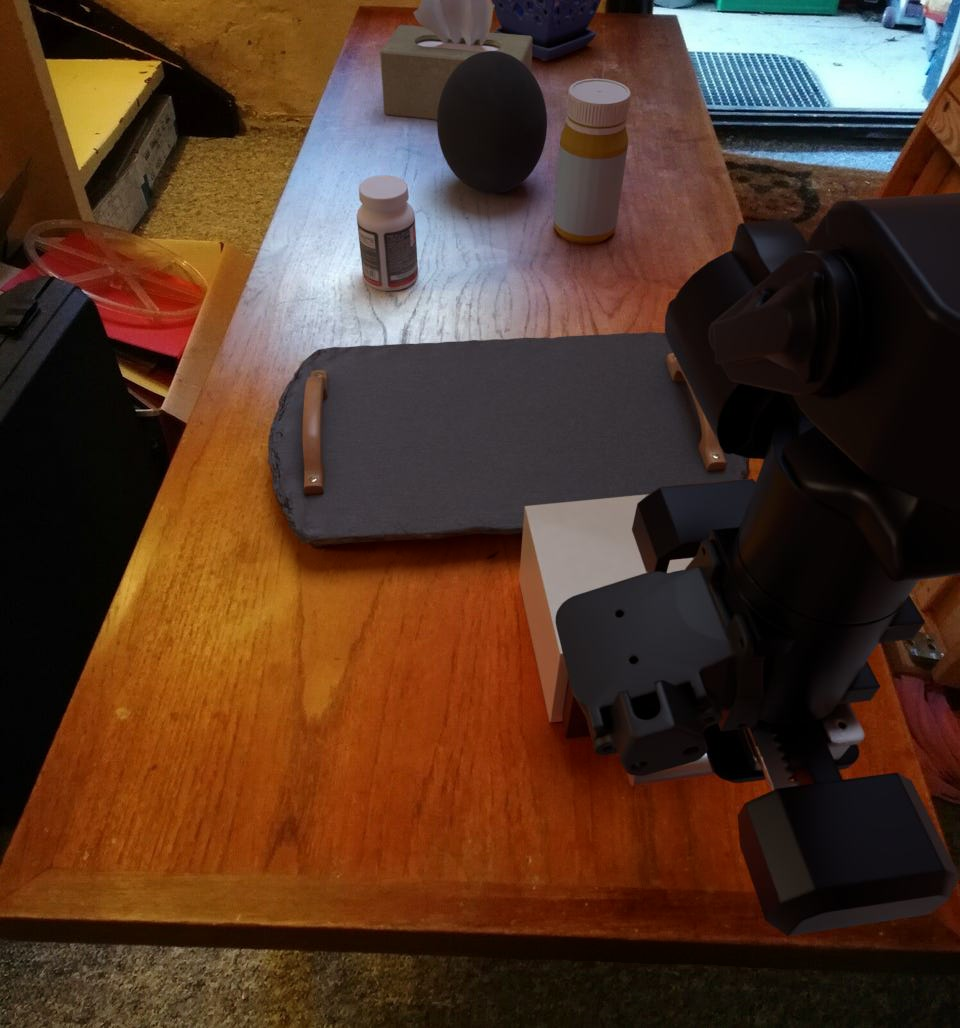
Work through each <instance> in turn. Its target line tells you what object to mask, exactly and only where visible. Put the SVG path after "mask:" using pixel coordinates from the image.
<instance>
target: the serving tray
mask: <svg viewBox="0 0 960 1028" xmlns="http://www.w3.org/2000/svg"><path fill="white" fill-rule="evenodd" d="M267 449H268V450H267V451H268V456H267V457H268V458H267V463H268V465H269V468H270V471H271V474H272V476H271V479H272V481H271V483H272V487H271V488H272V490H273V493H274V496H275V500H276V502H277V503H278V504H279V506H280V508H281V510H282V515H283V517H285V519H286V520H287V525H288V527H289V529H290V530H291V532H292V533H293V534H294V535H295V536H296V538H297V539H298V540H299V541H300V542H301V543H303V544H306V545H309V546H310V547H311V548H313V549H316V550H319V549H323V548H325V547H326V546H327V545H340V544H341V545H342V544H353V543H370V542H371V543H372V542H375V543H376V542H384V541H385V542H387V541H388V542H395V541H406V540H407V541H409V540H410V541H412V540H413V541H414V540H415V541H416V540H426V541H427V540H428V541H432V540H439V539H440V540H441V539H447V538H452V537H463V536H468V535H469V536H470V535H476V534H481V535H482V534H483V535H502V536H503V535H504V536H505V535H509V536H510V535H516V534H517V535H518V534H521V535H523V522H524V508H525V506H532V505H542V504H552V503H563V502H573V501H584V500H594V499H604V498H615V497H625V496H635V495H646V494H650V493H652V492H653V491H655V490H656V489H657V488H659V487H666V486H676V485H687V484H697V483H708V482H718V481H729V480H739V479H749V477H750V474H751V471H750V470H751V469H750V458H745V457H742V456H739V455H735V454H726V453H724V452H723V450H722V448H721V447H720V445H719V443H718V441H717V439H716V437H715V435H714V433H713V431H712V429H711V427H710V425H709V423H708V421H707V419H706V417H705V415H704V413H703V411H702V409H701V407H700V405H699V403H698V401H697V399H696V397H695V395H694V393H693V391H692V389H691V387H690V385H689V383H688V381H687V379H686V377H685V375H684V373H683V371H682V369H681V367H680V365H679V363H678V361H677V359H676V357H675V355H674V353H673V351H672V349H671V347H670V345H669V343H668V340H667V337H666V333H665V332H652V331H648V332H635V333H634V332H633V333H630V332H629V333H627V332H622V333H610V334H589V335H588V334H584V335H566V336H565V335H564V336H556V337H519V338H515V337H514V338H507V339H506V338H504V339H503V338H502V339H501V338H500V339H499V338H498V339H497V338H496V339H495V338H494V339H483V340H479V339H471V340H461V341H460V340H459V341H458V340H457V341H441V342H422V343H421V342H419V343H396V344H380V345H355V346H341V347H340V346H333V347H326V348H320V349H319V348H318V349H317V350H315V351H314V352H312V354H310V355H309V356H308V357H306V358H305V359H304V360H303V361H302V362H301V364H300V365H299V367H298V368H297V370H296V371H295V372H293V377H292V378H291V379H290V381H289V382H288V383H287V385H286V386H285V388H284V390H283V392H282V394H281V395H280V398H279V400H278V407H277V410H276V412H275V414H274V417H273V419H272V424H271V426H270V429H269V434H268V440H267Z"/></svg>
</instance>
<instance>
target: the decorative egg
mask: <svg viewBox="0 0 960 1028" xmlns="http://www.w3.org/2000/svg"><path fill="white" fill-rule="evenodd" d="M547 113H548V112H547V105H546V100H545V98H544V93H543V91H542V88H541V86H540V85H539V82H538V81H537V79H536V77H535V75H534V74H533V72H531V71H530V70H529V69H528V68H527V67H526V66H525V65H524V64H523V63H522V62H521V61H519V60H518V59H516V58H515V57H513V56H511V55H509V54H506V53H503V52H498V51H485V52H480V53H477V54H475V55H472V56H470V57H469V58H467V59H466V60H464V61H463V62H462V63H461V64H459V65H458V66H457V67H456V69H455V70H454V71H453V72H452V74H451V75H450V77H449V78H448V80H447V82H446V84H445V86H444V88H443V91H442V94H441V97H440V101H439V105H438V113H437V120H436V126H437V127H436V129H437V137H438V143H439V147H440V149H441V153H442V155H443V158H444V160H445V162H446V164H447V166H448V167H449V168H450V170H451V172H452V173H453V174H454V175H455V177H456V178H457V179H458V180H459V181H461V183H463V184H464V185H466V186H467V187H468V188H470V189H472V190H473V191H474V190H475V191H477V192H479V193H483V194H501V193H506V192H508V191H511V190H513V189H515V188H517V187H518V186H519V185H521V184H522V183H523V182H524V181H525V180H527V178H528V177H529V176H530V175H531V174H532V173H533V171H534V170H535V169H536V167H537V165H538V163H539V162H540V159H541V156H542V153H543V151H544V147H545V144H546V140H547V134H548V133H547V132H548V114H547Z"/></svg>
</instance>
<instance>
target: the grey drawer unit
mask: <svg viewBox="0 0 960 1028" xmlns="http://www.w3.org/2000/svg"><path fill="white" fill-rule="evenodd" d="M647 495H649V494H646V495H635V496H625V497H615V498H604V499H594V500H584V501H573V502H563V503H552V504H542V505H532V506H525V508H524V522H523V534H522V537H521V549H520V562H519V575H518V576H519V578H518V582H519V587H520V591H521V596H522V601H523V606H524V611H525V616H526V619H527V620H526V621H527V624H528V629H529V633H530V638H531V641H532V642H531V643H532V648H533V652H534V657H535V661H536V667H537V670H538V675H539V680H540V685H541V689H542V694H543V698H544V702H545V708H546V713H547V716H548V717H547V718H548V722H549V723H556V722H557V723H558V722H559V723H560V722H562V718H563V712H564V706H565V700H566V695H567V685H568V680H569V677H568V673H567V669H566V665H565V661H564V657H563V653H562V648H561V644H560V640H559V636H558V632H557V628H556V622H555V621H556V613H557V611H558V609H559V607H560V606H561V605H562V603H563V602H565V601H566V600H567V599H569V598H571V597H573V596H575V595H578V594H581V593H584V592H588V591H591V590H594V589H597V588H600V587H603V586H606V585H609V584H613V583H616V582H619V581H622V580H625V579H628V578H631V577H635V576H638V575H641V574H644V573H648V572H646V570H645V567H644V564H643V561H642V558H641V555H640V553H639V550H638V547H637V544H636V541H635V538H634V535H633V532H632V526H633V521H634V517H635V512H636V508H637V503H639V502H640V501H641V500H642V499H643V498H645V497H646V496H647ZM693 559H694V558H687V559H677V560H670V563H669V566H668V570H667V573H671V572H675V571H680V570H685V569H686V567H687V566H688V565H689V563H690V562H691V561H692V560H693Z"/></svg>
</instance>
